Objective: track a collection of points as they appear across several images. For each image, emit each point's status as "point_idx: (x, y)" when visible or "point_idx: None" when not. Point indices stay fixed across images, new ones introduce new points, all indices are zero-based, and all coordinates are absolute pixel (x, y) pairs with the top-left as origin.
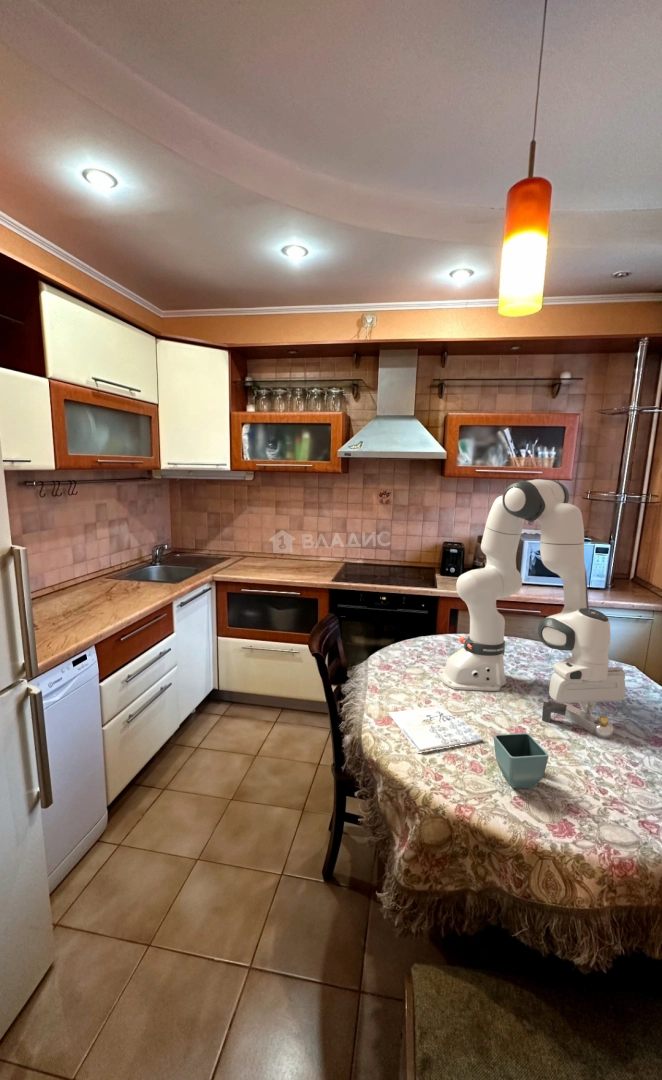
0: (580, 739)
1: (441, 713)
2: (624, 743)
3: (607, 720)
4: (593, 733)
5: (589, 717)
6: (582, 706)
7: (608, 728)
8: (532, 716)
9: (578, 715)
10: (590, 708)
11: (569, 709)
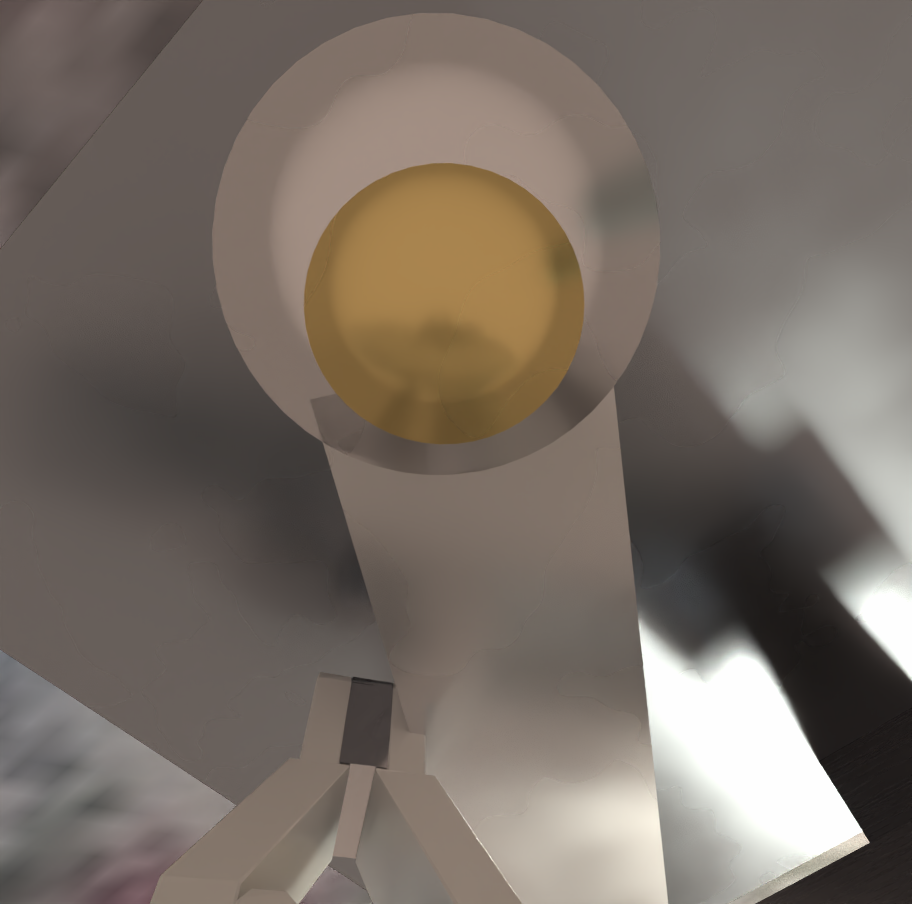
0: None
1: None
2: (136, 5)
3: (440, 165)
4: None
5: (498, 596)
6: (487, 884)
7: (466, 75)
8: (855, 843)
9: (643, 697)
10: (315, 804)
11: (621, 859)
